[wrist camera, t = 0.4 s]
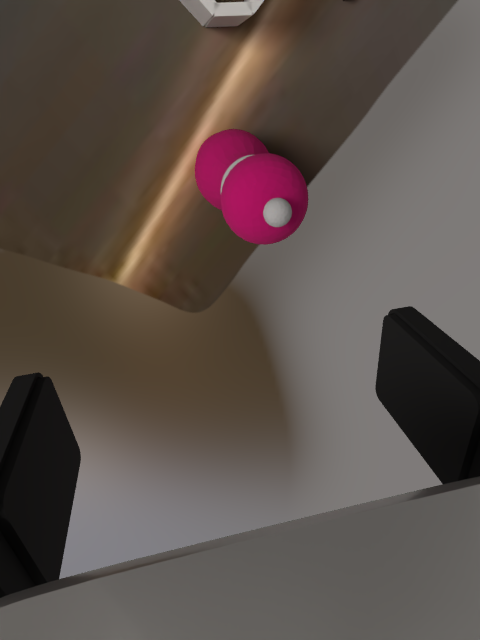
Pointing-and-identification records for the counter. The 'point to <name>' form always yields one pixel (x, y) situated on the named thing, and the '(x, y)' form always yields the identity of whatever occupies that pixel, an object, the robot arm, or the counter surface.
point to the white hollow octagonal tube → (221, 11)
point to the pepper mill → (251, 186)
